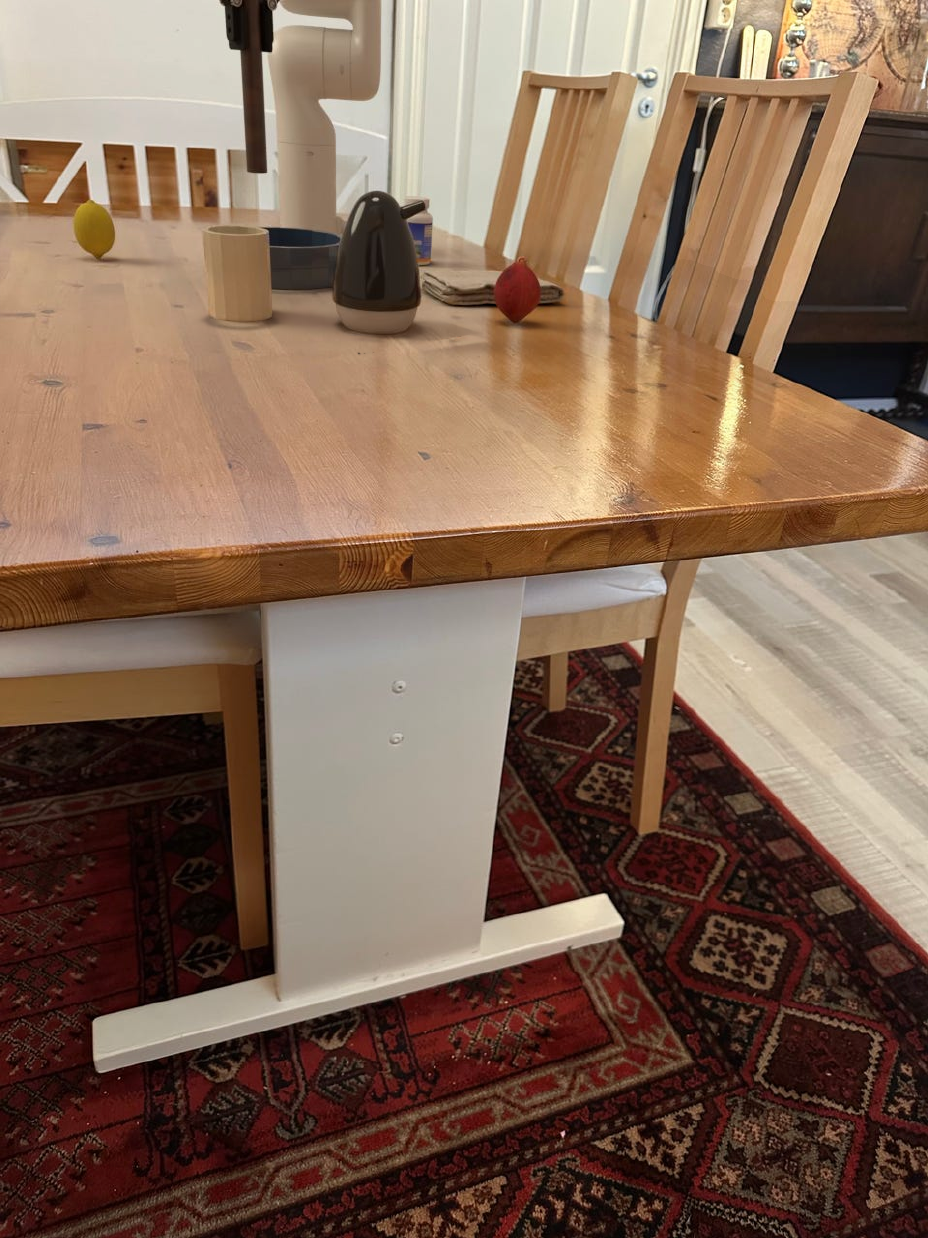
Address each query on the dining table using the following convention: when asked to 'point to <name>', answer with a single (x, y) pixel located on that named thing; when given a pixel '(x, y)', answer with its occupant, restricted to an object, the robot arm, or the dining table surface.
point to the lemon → (94, 229)
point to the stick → (254, 92)
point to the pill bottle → (421, 230)
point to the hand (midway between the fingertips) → (250, 49)
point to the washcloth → (476, 287)
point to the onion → (517, 291)
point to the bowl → (302, 258)
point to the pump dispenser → (377, 266)
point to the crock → (238, 272)
